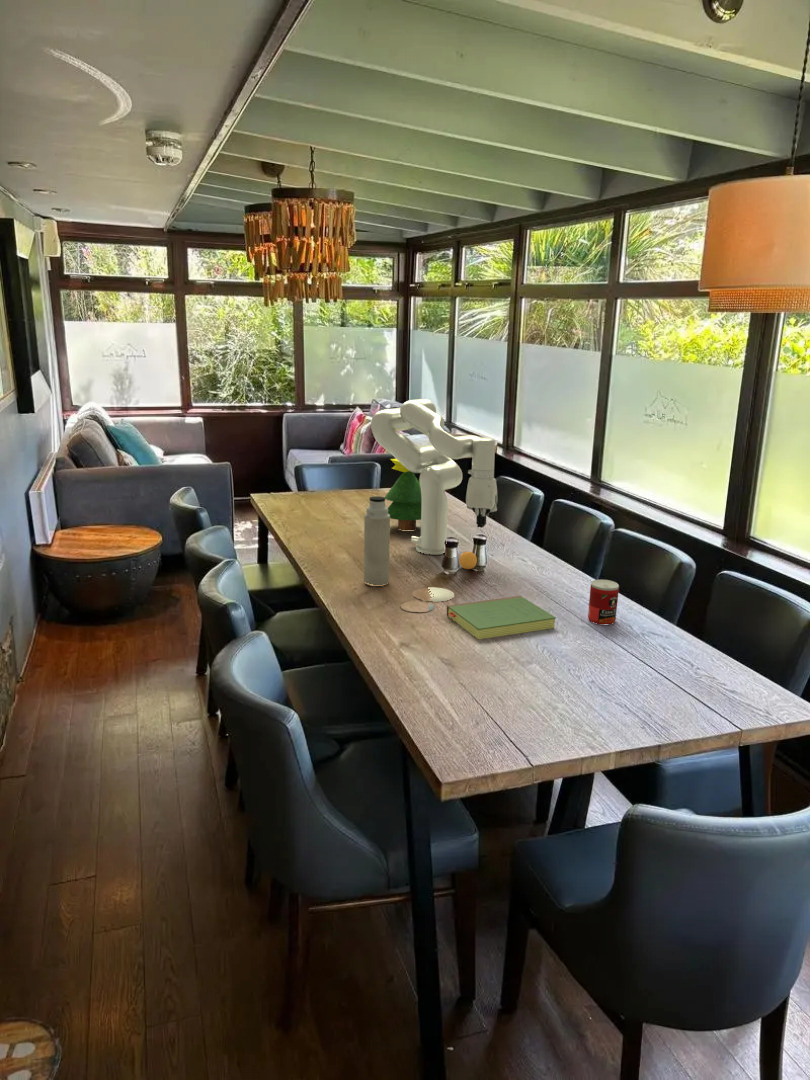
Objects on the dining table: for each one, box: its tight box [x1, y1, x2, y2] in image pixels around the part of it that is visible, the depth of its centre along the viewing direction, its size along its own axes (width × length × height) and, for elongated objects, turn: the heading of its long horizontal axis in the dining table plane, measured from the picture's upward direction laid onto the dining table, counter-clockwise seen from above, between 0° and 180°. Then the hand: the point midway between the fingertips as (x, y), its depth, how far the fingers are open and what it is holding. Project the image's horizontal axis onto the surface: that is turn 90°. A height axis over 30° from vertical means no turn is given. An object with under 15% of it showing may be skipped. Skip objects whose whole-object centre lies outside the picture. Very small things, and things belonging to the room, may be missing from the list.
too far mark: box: [426, 602, 435, 612], centre depth 228 cm, size 10×10×1 cm
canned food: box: [587, 579, 620, 625], centre depth 219 cm, size 8×8×11 cm
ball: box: [458, 551, 478, 570], centre depth 264 cm, size 6×6×6 cm
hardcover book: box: [446, 595, 557, 640], centre depth 217 cm, size 25×19×4 cm
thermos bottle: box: [363, 495, 391, 585], centre depth 244 cm, size 8×8×28 cm
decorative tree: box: [384, 458, 422, 531], centre depth 309 cm, size 19×19×30 cm
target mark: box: [428, 586, 455, 603], centre depth 238 cm, size 13×13×1 cm
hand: (481, 526), depth 269 cm, fingers closed
